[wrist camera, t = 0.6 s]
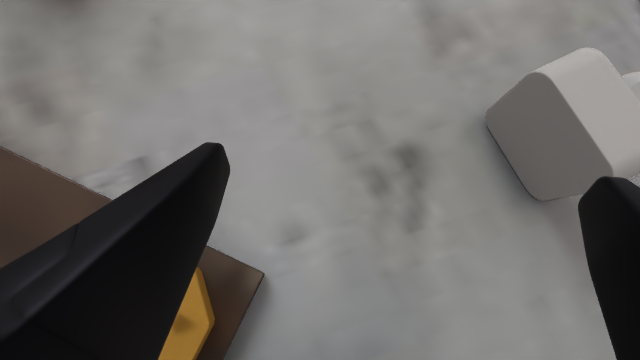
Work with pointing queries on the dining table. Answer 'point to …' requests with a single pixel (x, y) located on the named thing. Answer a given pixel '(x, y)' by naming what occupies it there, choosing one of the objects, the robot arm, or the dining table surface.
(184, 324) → the ring
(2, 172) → the peg rack
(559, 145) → the grey block
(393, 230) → the dining table surface
